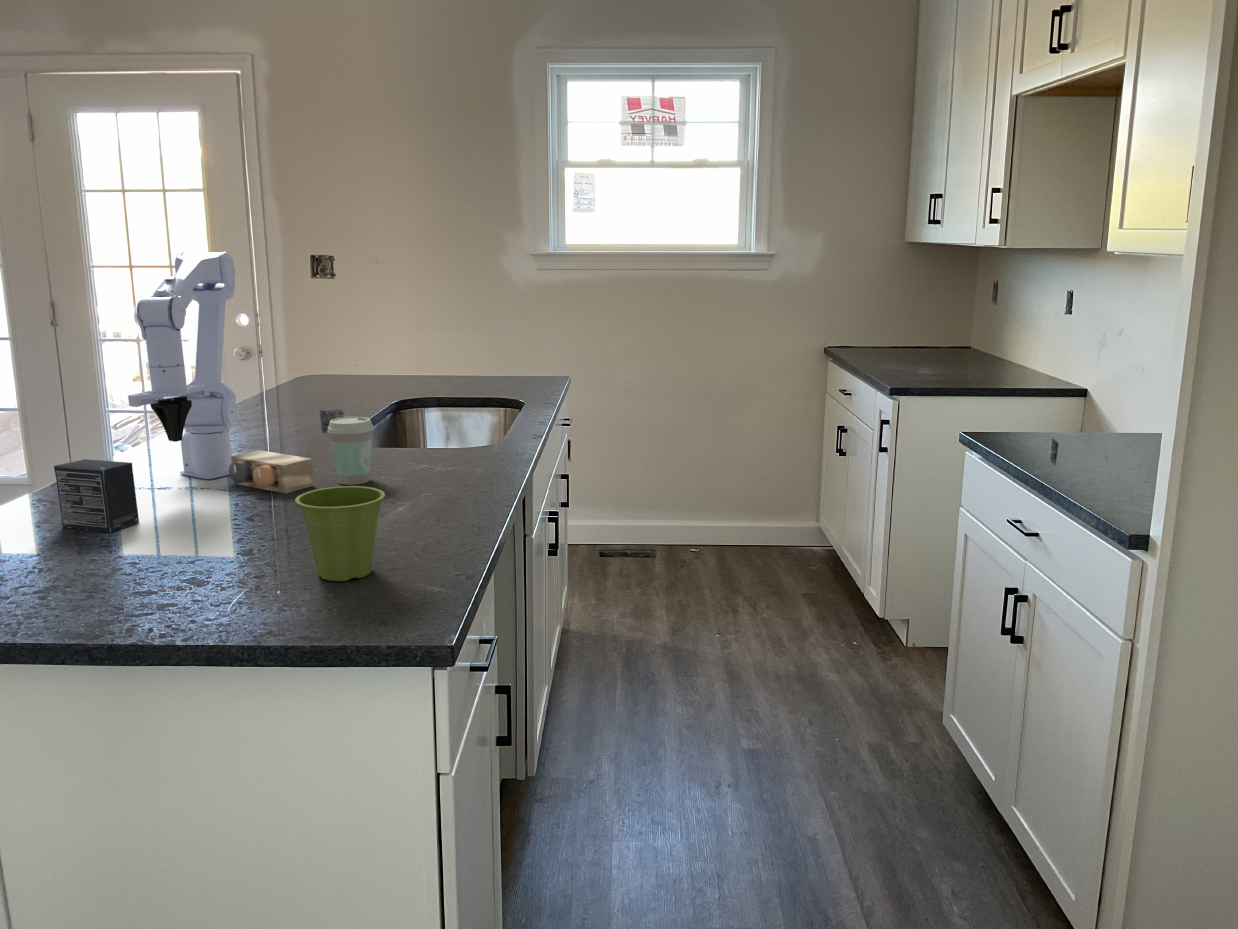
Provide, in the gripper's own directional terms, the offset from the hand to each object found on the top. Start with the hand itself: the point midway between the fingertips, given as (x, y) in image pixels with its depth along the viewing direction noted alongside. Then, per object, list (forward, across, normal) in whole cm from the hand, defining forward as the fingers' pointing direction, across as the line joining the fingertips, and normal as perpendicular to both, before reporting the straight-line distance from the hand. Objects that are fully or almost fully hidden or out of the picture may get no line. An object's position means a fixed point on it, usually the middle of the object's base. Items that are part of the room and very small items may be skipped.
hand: (175, 440), depth 174 cm
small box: (+11, -18, -5) cm, 22 cm away
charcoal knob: (+9, +12, -4) cm, 16 cm away
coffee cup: (+11, +24, -19) cm, 32 cm away
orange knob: (+9, +12, -11) cm, 19 cm away
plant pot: (+11, -14, -58) cm, 61 cm away
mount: (+10, +14, -8) cm, 19 cm away
